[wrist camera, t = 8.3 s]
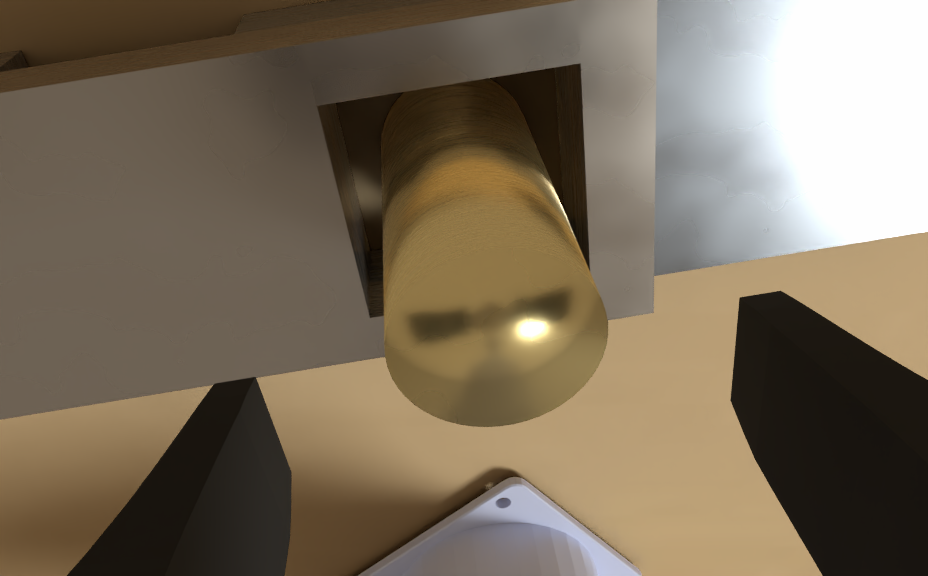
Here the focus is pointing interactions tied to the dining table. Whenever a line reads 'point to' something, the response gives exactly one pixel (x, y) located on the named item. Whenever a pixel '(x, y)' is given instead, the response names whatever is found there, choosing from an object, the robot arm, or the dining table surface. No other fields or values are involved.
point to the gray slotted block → (333, 189)
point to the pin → (480, 263)
